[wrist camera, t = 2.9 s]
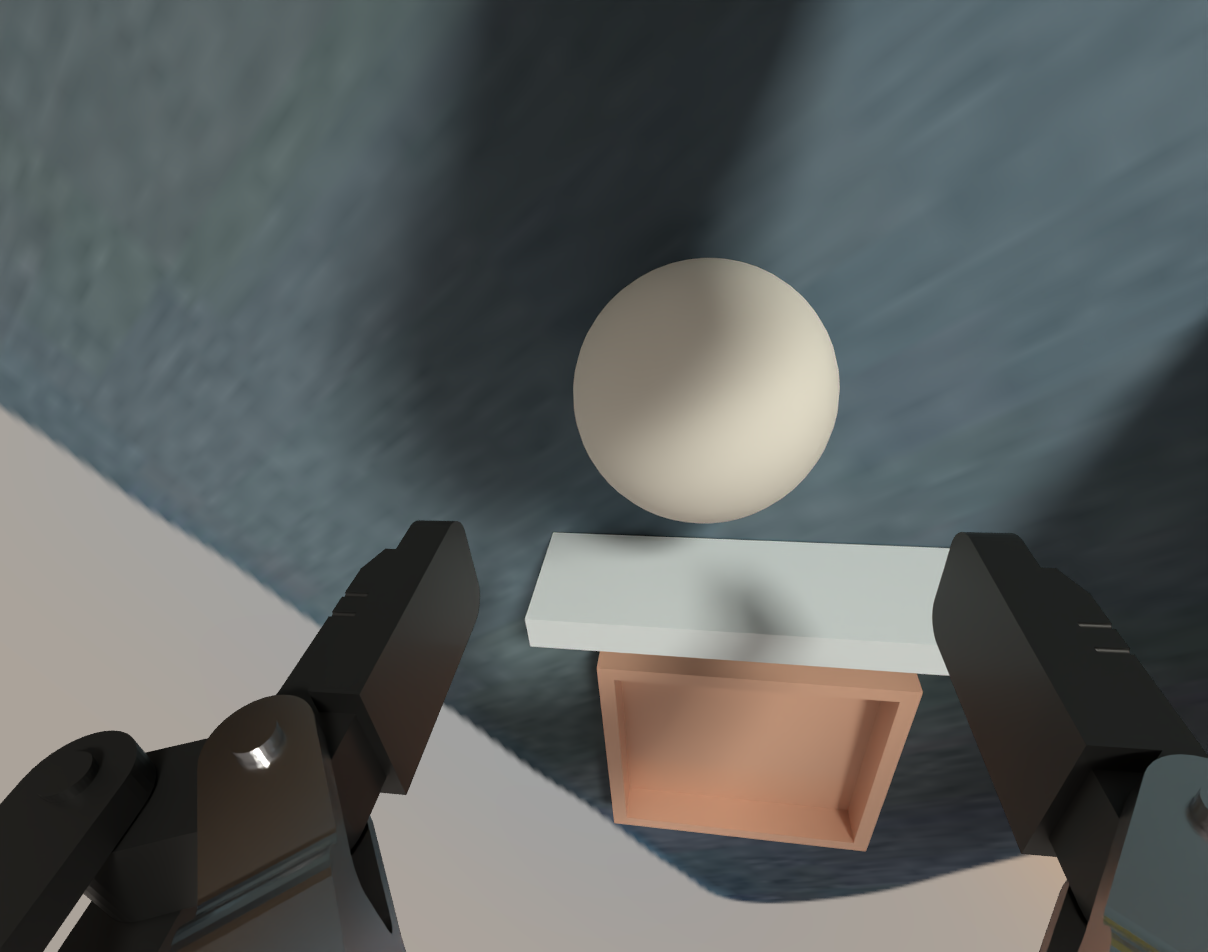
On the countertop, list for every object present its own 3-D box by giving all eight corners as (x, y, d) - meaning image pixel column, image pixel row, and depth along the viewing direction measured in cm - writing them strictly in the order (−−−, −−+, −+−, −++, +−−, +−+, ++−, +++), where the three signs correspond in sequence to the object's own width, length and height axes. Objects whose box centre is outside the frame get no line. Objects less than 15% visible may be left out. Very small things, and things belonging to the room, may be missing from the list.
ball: (585, 232, 16) (528, 317, 11) (834, 223, 15) (895, 311, 10) (602, 436, 19) (564, 571, 14) (804, 440, 18) (839, 585, 13)
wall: (553, 532, 21) (524, 619, 18) (989, 549, 19) (1045, 652, 16) (556, 558, 22) (530, 646, 19) (978, 577, 20) (1030, 681, 17)
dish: (604, 625, 24) (596, 668, 22) (907, 644, 22) (922, 692, 20) (619, 781, 30) (614, 822, 28) (856, 805, 28) (865, 851, 27)
